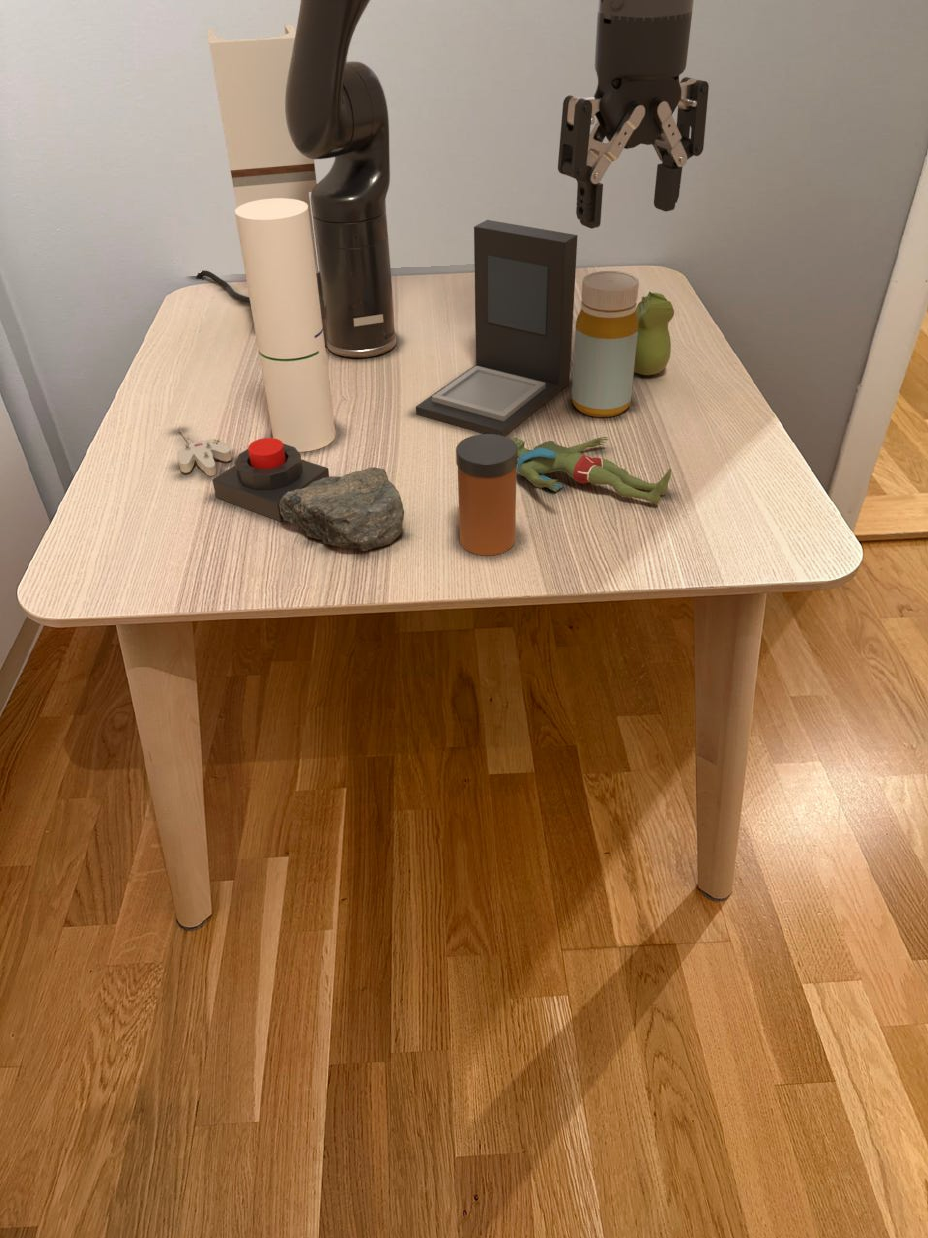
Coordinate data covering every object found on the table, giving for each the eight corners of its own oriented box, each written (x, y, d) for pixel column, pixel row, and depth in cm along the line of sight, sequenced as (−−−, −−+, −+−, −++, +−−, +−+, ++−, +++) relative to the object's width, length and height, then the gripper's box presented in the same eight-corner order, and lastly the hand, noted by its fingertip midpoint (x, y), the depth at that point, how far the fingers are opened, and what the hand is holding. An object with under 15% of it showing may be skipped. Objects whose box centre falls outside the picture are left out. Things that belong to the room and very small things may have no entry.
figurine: (647, 499, 87) (473, 454, 93) (640, 536, 89) (469, 491, 95) (686, 448, 100) (530, 412, 105) (679, 483, 102) (526, 445, 107)
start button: (243, 464, 96) (240, 449, 95) (266, 449, 98) (264, 434, 97) (269, 473, 94) (266, 458, 93) (293, 458, 96) (290, 443, 95)
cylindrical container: (345, 426, 109) (320, 200, 93) (319, 455, 104) (287, 222, 88) (291, 418, 111) (257, 195, 95) (262, 446, 106) (221, 216, 90)
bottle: (628, 421, 109) (641, 293, 99) (568, 416, 110) (575, 289, 100) (632, 394, 114) (644, 270, 104) (574, 390, 115) (582, 267, 106)
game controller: (198, 483, 100) (193, 462, 98) (137, 451, 106) (131, 430, 104) (240, 462, 103) (236, 441, 102) (179, 432, 109) (174, 411, 108)
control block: (215, 497, 98) (208, 464, 95) (267, 464, 103) (261, 431, 100) (280, 521, 94) (274, 487, 91) (330, 485, 99) (326, 452, 97)
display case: (332, 323, 133) (300, 37, 111) (257, 331, 132) (209, 42, 109) (323, 295, 142) (291, 24, 120) (252, 302, 140) (207, 29, 118)
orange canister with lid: (497, 562, 88) (497, 470, 81) (447, 545, 90) (443, 453, 84) (535, 525, 92) (538, 435, 86) (486, 509, 95) (486, 420, 88)
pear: (653, 360, 121) (662, 283, 115) (676, 376, 118) (686, 298, 111) (616, 368, 120) (623, 291, 113) (638, 385, 116) (646, 306, 110)
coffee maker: (487, 363, 122) (487, 219, 110) (569, 383, 117) (577, 234, 105) (415, 414, 111) (406, 260, 100) (502, 438, 106) (503, 280, 95)
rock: (413, 504, 96) (410, 461, 93) (400, 561, 88) (396, 516, 85) (294, 501, 97) (287, 458, 94) (271, 557, 89) (262, 513, 86)
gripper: (682, -6, 80) (661, 195, 90) (545, 9, 74) (539, 221, 85) (744, 2, 75) (714, 214, 85) (602, 18, 69) (588, 243, 80)
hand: (627, 217), depth 85 cm, fingers open, 8 cm apart
